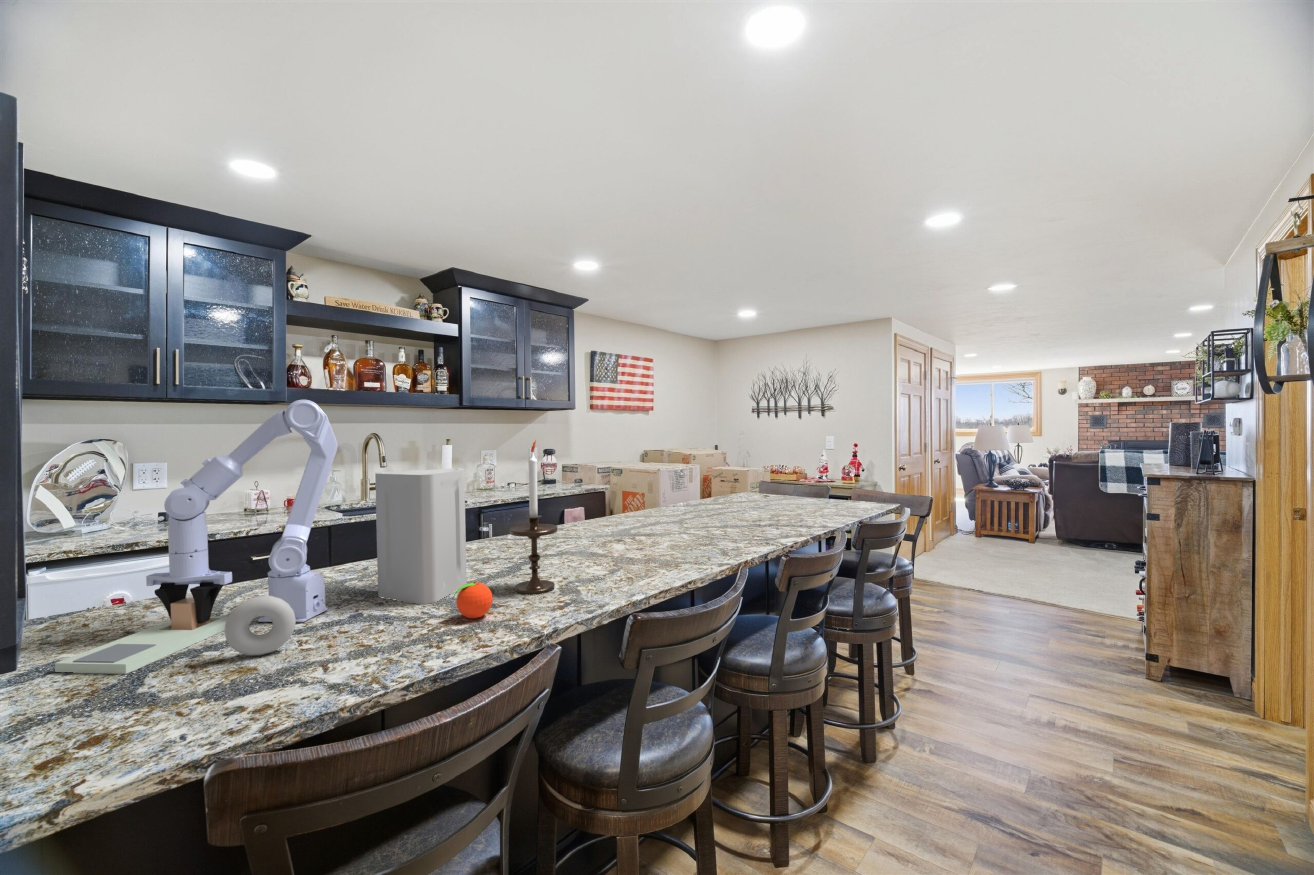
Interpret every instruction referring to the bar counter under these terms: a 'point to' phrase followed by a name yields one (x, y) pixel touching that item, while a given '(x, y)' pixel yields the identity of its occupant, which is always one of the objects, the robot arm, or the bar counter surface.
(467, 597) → the clementine
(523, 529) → the candlestick
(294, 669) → the bar counter surface
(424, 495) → the grey storage bin
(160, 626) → the pocket board
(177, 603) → the terracotta block
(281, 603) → the donut
